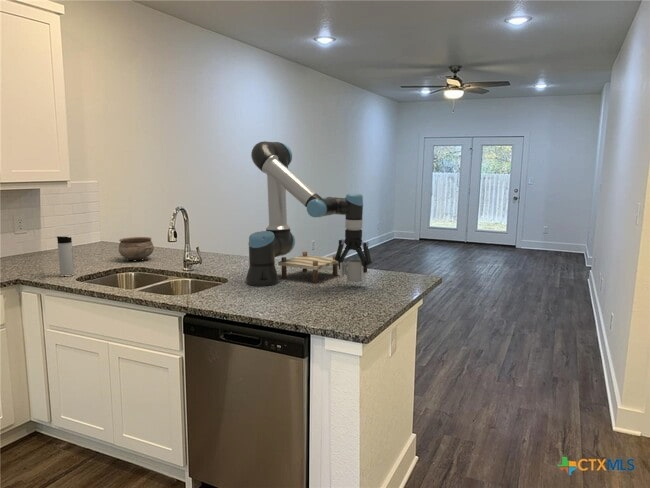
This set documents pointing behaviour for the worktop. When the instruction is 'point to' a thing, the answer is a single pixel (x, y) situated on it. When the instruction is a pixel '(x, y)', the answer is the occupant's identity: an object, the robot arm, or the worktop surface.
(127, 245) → the cooking pot
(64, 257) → the travel mug
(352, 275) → the cup
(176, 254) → the worktop surface
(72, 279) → the worktop surface
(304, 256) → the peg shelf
